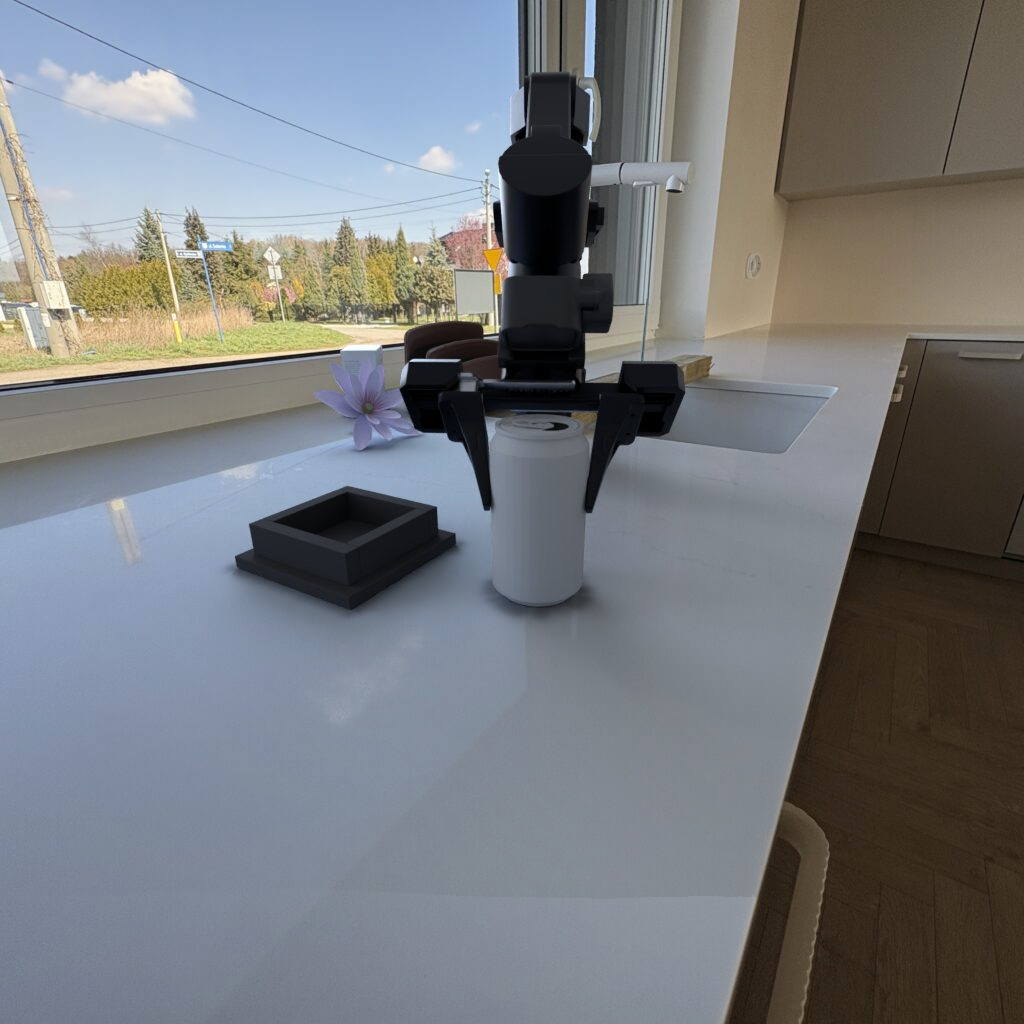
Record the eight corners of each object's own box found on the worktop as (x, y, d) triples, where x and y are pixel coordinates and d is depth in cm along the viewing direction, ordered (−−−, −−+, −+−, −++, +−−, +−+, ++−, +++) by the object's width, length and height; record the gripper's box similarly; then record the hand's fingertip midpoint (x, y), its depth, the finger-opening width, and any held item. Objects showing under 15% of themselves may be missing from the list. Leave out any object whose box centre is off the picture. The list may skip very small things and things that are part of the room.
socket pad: (351, 515, 53) (347, 480, 52) (456, 543, 47) (454, 504, 46) (236, 567, 43) (227, 525, 42) (350, 610, 38) (344, 563, 36)
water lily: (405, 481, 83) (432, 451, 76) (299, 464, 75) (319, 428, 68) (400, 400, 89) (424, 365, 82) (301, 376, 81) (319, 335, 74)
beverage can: (577, 617, 37) (586, 437, 32) (481, 607, 38) (477, 432, 33) (585, 571, 43) (594, 413, 38) (502, 563, 44) (501, 409, 39)
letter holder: (406, 412, 95) (400, 324, 89) (481, 395, 110) (479, 318, 104) (451, 420, 89) (447, 326, 84) (523, 400, 104) (524, 320, 99)
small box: (354, 407, 99) (348, 344, 95) (387, 406, 99) (382, 344, 95) (346, 417, 91) (338, 349, 87) (381, 416, 92) (375, 349, 88)
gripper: (394, 227, 36) (357, 445, 30) (697, 225, 34) (722, 452, 28) (427, 344, 46) (404, 523, 40) (660, 345, 45) (673, 530, 39)
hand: (537, 509), depth 36 cm, fingers closed on beverage can, 6 cm apart
